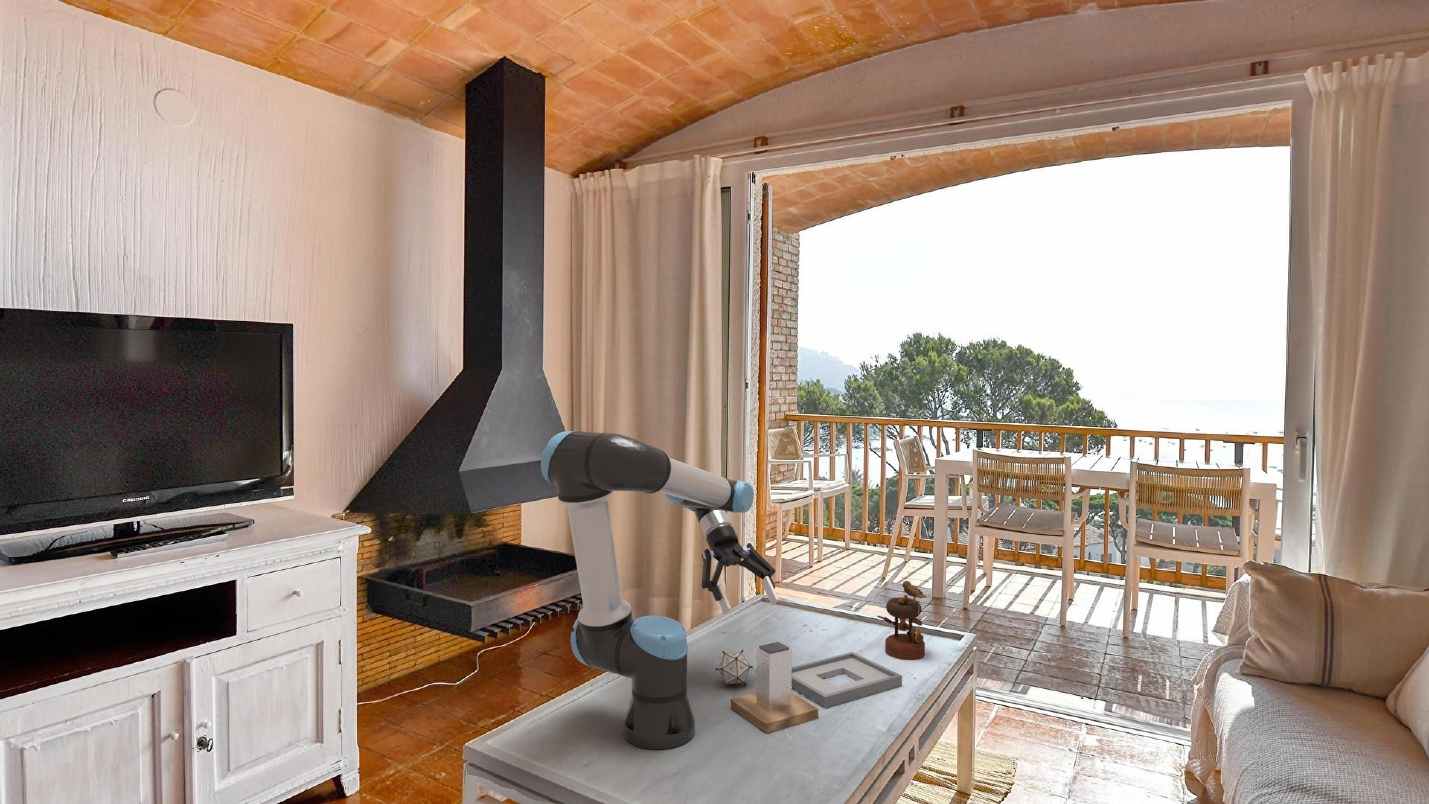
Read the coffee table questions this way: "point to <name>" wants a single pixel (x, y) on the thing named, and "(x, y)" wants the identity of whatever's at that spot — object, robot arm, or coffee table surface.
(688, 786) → the coffee table surface
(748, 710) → the board
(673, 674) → the robot arm
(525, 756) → the coffee table surface
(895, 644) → the music box
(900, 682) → the grey flat frame
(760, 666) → the block
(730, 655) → the game die
